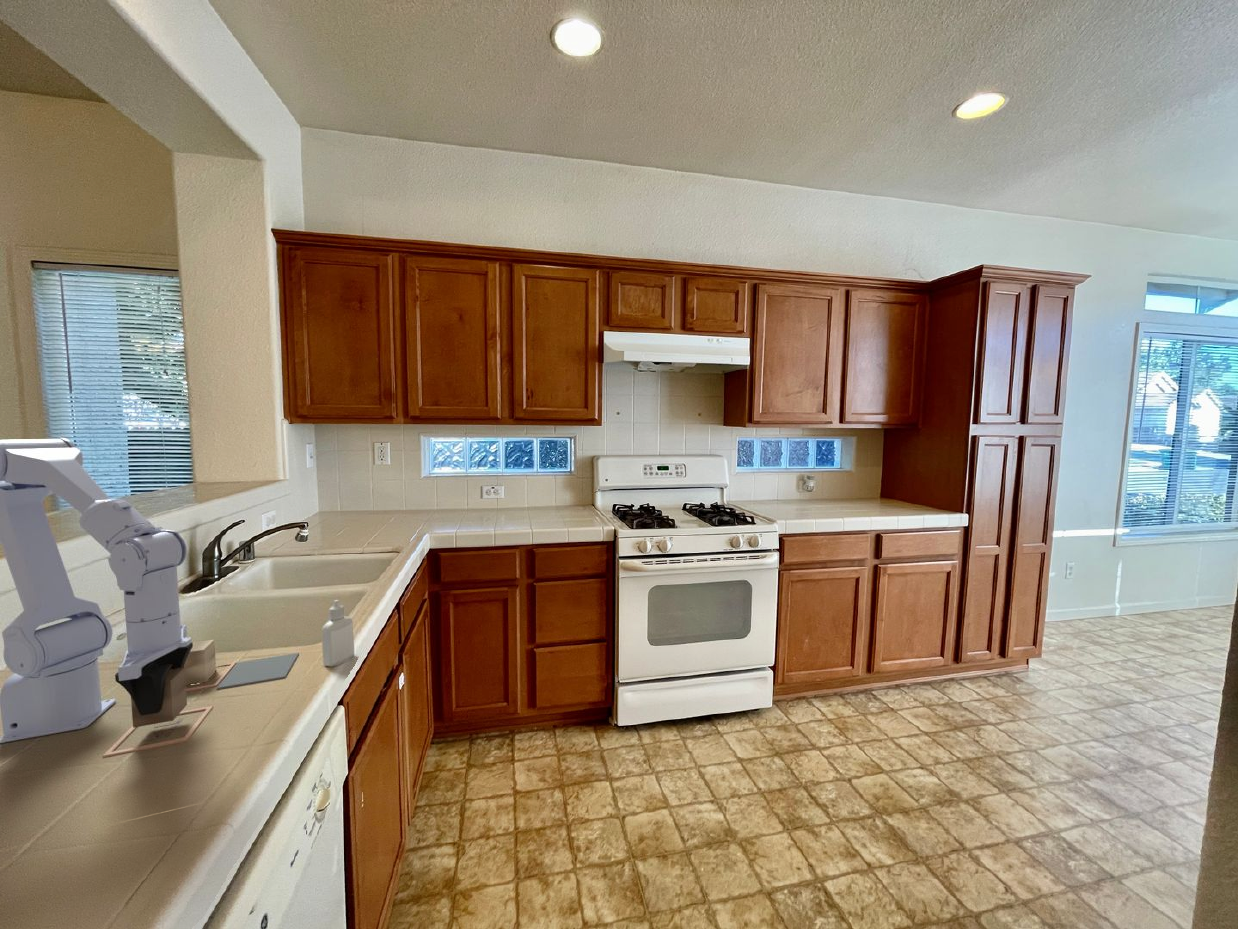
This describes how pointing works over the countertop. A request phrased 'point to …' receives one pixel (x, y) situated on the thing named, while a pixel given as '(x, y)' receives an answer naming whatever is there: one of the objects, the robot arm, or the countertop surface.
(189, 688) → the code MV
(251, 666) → the coaster
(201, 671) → the oak block
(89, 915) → the countertop surface
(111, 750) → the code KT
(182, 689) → the walnut block
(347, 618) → the eye dropper bottle
